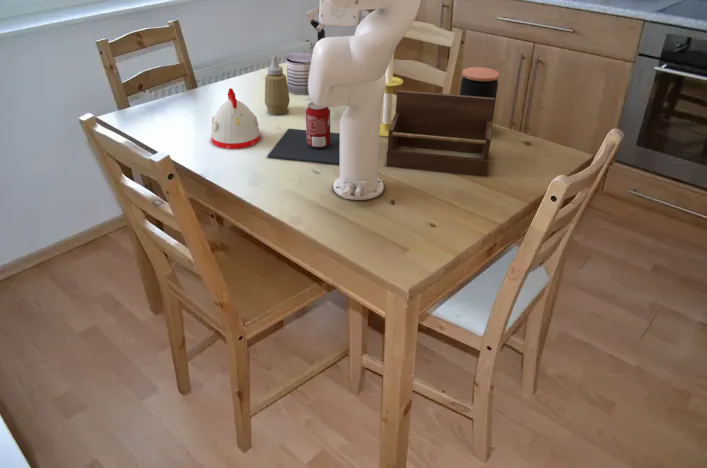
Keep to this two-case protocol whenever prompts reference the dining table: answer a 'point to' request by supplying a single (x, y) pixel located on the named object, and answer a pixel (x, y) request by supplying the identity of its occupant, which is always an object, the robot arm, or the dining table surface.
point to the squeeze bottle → (276, 89)
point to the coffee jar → (480, 83)
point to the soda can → (317, 126)
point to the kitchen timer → (234, 125)
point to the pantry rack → (440, 131)
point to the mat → (306, 148)
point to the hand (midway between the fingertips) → (340, 47)
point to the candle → (388, 98)
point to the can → (298, 72)
